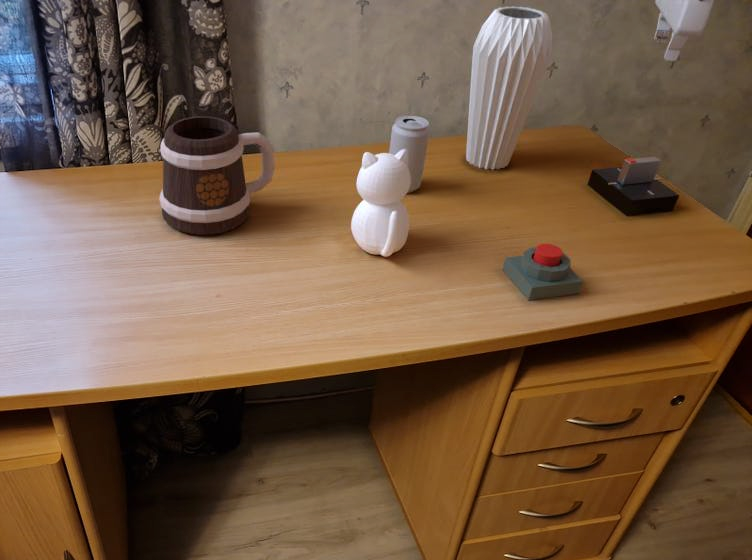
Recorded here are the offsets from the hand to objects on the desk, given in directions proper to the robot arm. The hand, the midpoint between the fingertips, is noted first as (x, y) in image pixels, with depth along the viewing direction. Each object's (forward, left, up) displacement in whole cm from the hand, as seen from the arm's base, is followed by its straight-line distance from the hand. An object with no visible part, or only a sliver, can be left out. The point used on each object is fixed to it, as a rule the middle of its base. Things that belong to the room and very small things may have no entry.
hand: (664, 50), depth 109 cm
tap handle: (-5, +1, -20) cm, 21 cm away
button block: (-26, +30, -23) cm, 46 cm away
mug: (+4, +73, -23) cm, 76 cm away
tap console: (-5, +1, -23) cm, 24 cm away
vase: (+14, +19, -23) cm, 33 cm away
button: (-26, +30, -20) cm, 44 cm away
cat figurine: (-12, +50, -23) cm, 56 cm away
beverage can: (+7, +39, -23) cm, 46 cm away
